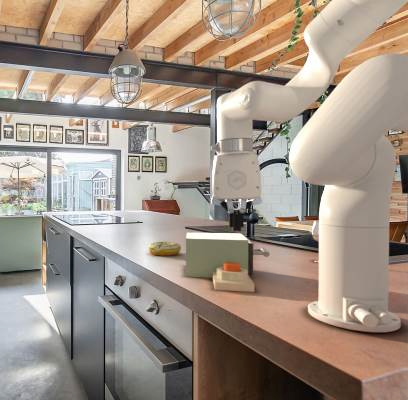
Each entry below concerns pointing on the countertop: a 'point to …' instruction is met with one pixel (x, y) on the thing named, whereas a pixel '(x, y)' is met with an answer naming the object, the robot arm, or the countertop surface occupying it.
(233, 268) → the button
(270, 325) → the countertop surface
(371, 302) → the robot arm
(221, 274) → the block
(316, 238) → the wineglass
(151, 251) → the decorated donut
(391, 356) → the countertop surface
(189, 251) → the green drawer cabinet
